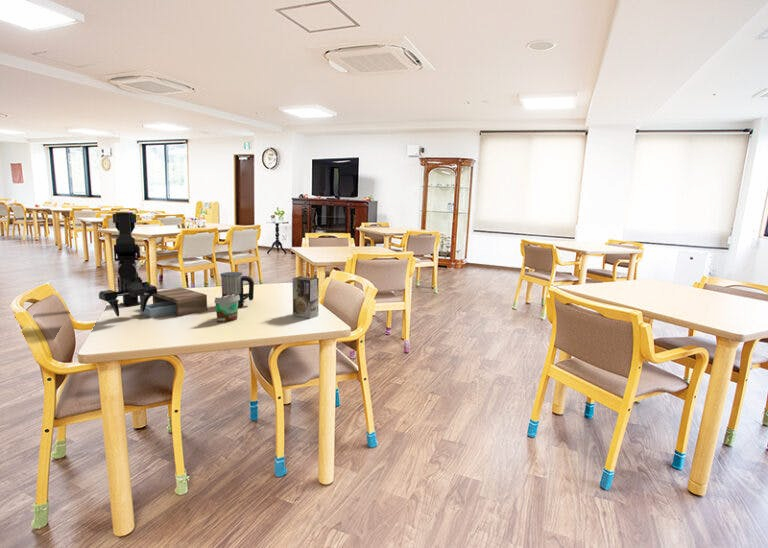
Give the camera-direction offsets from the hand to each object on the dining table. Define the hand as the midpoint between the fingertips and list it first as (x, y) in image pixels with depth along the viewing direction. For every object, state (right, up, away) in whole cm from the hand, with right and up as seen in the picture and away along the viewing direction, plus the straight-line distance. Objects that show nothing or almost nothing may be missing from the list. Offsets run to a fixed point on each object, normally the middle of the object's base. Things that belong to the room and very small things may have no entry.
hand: (130, 314), depth 163 cm
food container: (+37, -3, +5) cm, 38 cm away
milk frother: (+31, +2, +28) cm, 42 cm away
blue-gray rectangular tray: (+8, 0, +11) cm, 14 cm away
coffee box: (+65, -2, +14) cm, 67 cm away
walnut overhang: (+11, 0, +16) cm, 20 cm away
